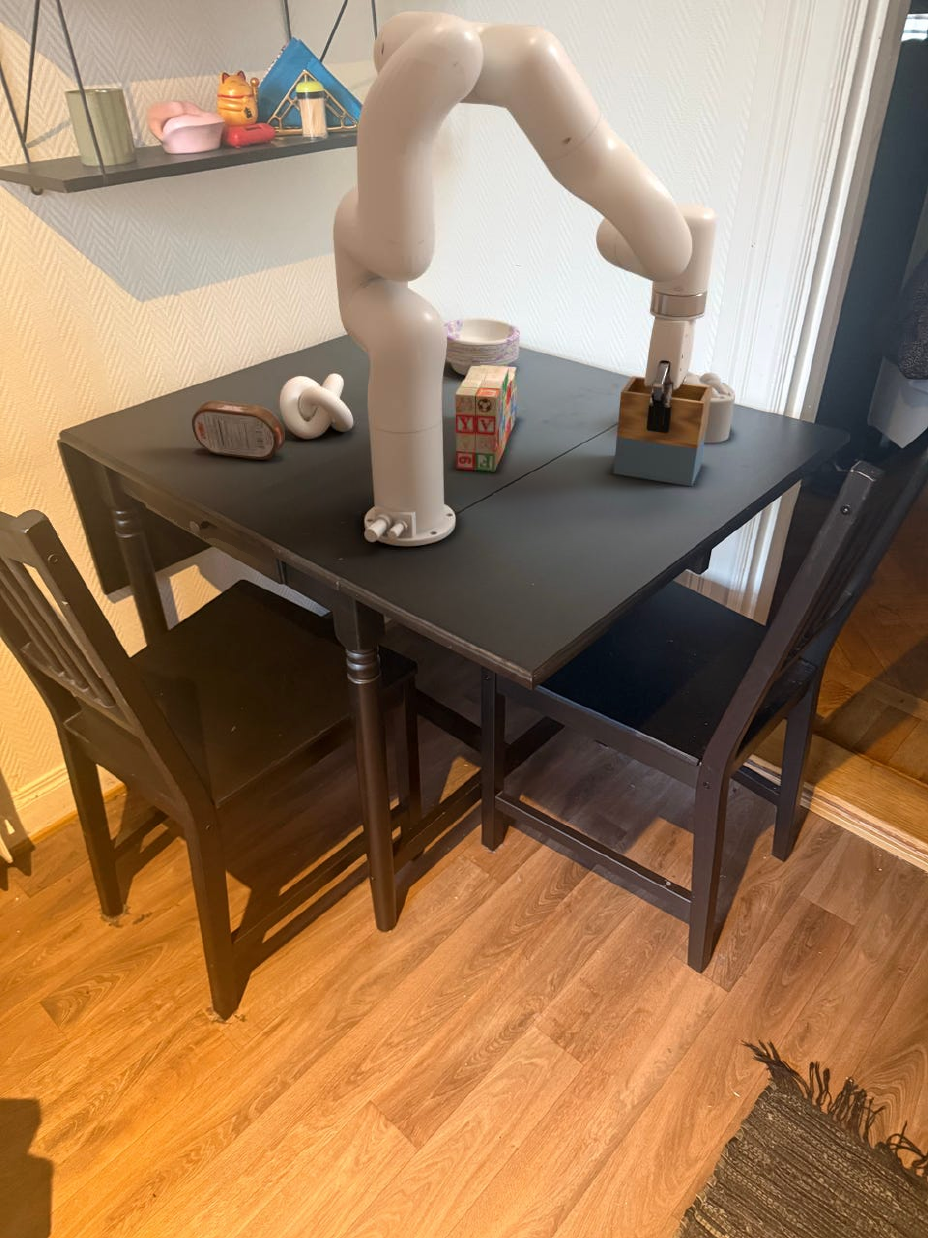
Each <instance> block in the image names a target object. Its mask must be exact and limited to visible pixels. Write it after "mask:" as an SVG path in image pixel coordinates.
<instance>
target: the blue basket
mask: <svg viewBox="0 0 928 1238" xmlns="http://www.w3.org/2000/svg"><path fill="white" fill-rule="evenodd" d="M705 434H706V432H705ZM705 434H704V436H703V438H702V440H701V442H700V444H699V446H698V448H697V449H694V448H687V447H680V446H674V445H667V444H661V443H654V442H647V441H641V440H634V439H628V438H621V437H617V436H616V439H615V440H616V442H615V450H614V451H615V452H614V462H613V471H612V472H613V474H614V475H620V476H626V477H632V478H639V479H643V480H651V481H656V482H663V483H668V484H669V483H670V484H675V485H682V486H687V487H693V484H694V482H695V480H696V478H697V476H698V474H699V472H700V470H701V466H702V461H703V460H702V459H703V452H704V447H705V443H704V441H705Z"/></svg>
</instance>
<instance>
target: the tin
mask: <svg viewBox="0 0 928 1238" xmlns="http://www.w3.org/2000/svg"><path fill="white" fill-rule="evenodd" d="M191 429H192V432H193V435H194V437H195V440H196V441H197V442H198V443H199V444H200V445H201V447H203V448H204V450H207V451H208V452H210V453H212V454H215V455H220V456H226V457H227V456H228V457H234V458H235V457H236V458H243V459H250V460H251V459H252V460H257V461H258V460H259V461H261V460H267V459H270V458H272V457H273V456H274V455H275V454H276V453H277V452H279V451H280V450H281V449H282V447H283V445H284V443H285V440H286V434H285V430H284V429H285V428H284V426H283V424H282V422H281V421H280V419H279V418H278V417H277V415H276V414H275V413H273V412H272V411H271V410H270V409H268V408H266V407H263V406H260V405H253V404H252V405H251V404H244V403H237V402H236V403H234V402H227V401H221V400H209V401H207V402H204V403H203V404H202V405H201V406H200V407H199V408H198V410H196V412H195V413H194V414H193V416H192V418H191Z"/></svg>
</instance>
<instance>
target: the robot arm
mask: <svg viewBox="0 0 928 1238" xmlns="http://www.w3.org/2000/svg"><path fill="white" fill-rule="evenodd" d="M373 62H374V67H375V70H376V73H377V76H376V77H375V78H374V81H373V82H372V84H371V86H370V88H369V89H368V92H367V94H366V96H365V98H364V101H363V104H362V106H361V109H360V113H359V118H358V124H357V133H356V164H357V165H356V167H357V168H356V171H357V173H356V176H357V185H355V186H353V187H352V188H350V189H349V190H348V191H347V192H346V193H345V195H344V196H343V197H342V198H341V199H340V202H339V203H338V206H337V208H336V211H335V215H334V220H333V227H332V239H333V252H334V266H335V277H336V289H337V300H338V309H339V315H340V321H341V323H342V326H343V328H344V331H345V333H346V334H347V335H348V336H349V338H350V339H351V340H352V341H353V342H354V344H355V345H357V346H358V347H359V348H360V349H361V350H362V351H363V352H364V353H366V355H367V356H368V358H369V364H370V365H369V366H370V367H369V368H370V370H369V378H368V385H367V416H368V417H367V418H368V428H369V441H370V454H371V455H370V457H371V472H372V487H373V488H372V489H373V503H374V506H373V507H372V508H370V509H369V510H368V511H367V513H366V514H365V515H364V529H365V531H364V532H363V534H364V538H365V539H366V540H367V541H368V542H370V543H375V542H376V541H378V542H380V543H383V544H386V545H390V546H396V547H418V546H426V545H429V544H430V545H431V544H433V543H436V542H439V541H441V540H443V539H445V538H447V537H448V536H449V535H451V533H452V532H453V531H454V530H455V527H456V514H455V512H454V510H453V509H452V508H451V507H450V506H449V505H447V504H445V488H444V487H445V484H444V481H445V479H444V438H443V437H444V435H443V434H444V433H443V427H444V426H443V378H444V369H445V363H446V360H445V357H446V349H447V336H446V330H445V326H444V325H445V324H444V321H443V318H442V316H441V315H440V313H439V311H438V310H437V309H436V307H434V305H433V304H432V303H431V302H430V301H428V300H427V299H426V298H425V297H423V296H422V295H420V294H419V293H417V292H415V291H414V290H412V289H411V288H409V283H408V282H412V281H415V280H417V279H418V278H420V277H422V276H423V275H424V274H425V273H426V271H427V270H428V269H429V267H430V266H431V264H432V261H433V259H434V255H435V247H436V227H435V226H436V225H435V195H434V193H435V192H434V158H435V146H436V141H437V139H438V138H437V137H438V135H439V131H440V129H441V128H442V125H443V123H444V121H445V120H446V118H447V116H448V115H449V114H450V113H451V111H452V110H453V109H454V108H455V107H456V106H457V105H459V104H469V105H485V106H486V105H487V106H493V107H498V108H503V109H506V110H507V111H508V113H509V114H510V115H511V116H512V118H513V120H514V121H515V123H516V124H517V125H518V127H519V128H520V130H521V131H522V133H523V134H524V135H525V137H526V138H527V140H528V142H529V143H530V145H531V146H532V147H533V149H534V150H535V152H536V153H537V155H538V157H539V158H540V159H541V161H542V162H543V164H544V165H545V167H546V169H547V171H548V172H549V173H550V175H551V176H552V177H553V178H554V180H556V181H557V183H558V184H560V185H561V186H562V187H563V188H564V189H565V190H567V191H568V192H569V193H570V194H571V195H573V196H575V197H576V198H578V199H579V200H580V201H582V202H584V203H585V204H587V205H588V206H590V207H591V208H593V209H594V210H595V211H597V212H598V213H599V214H600V215H602V216H603V219H602V220H601V222H600V224H599V225H598V228H597V230H596V233H595V234H596V235H595V243H596V248H597V251H598V253H599V254H600V255H601V257H602V258H603V259H604V260H605V261H606V262H607V263H609V264H611V265H613V266H615V267H616V268H619V269H621V270H623V271H627V272H629V273H632V274H634V275H637V276H639V277H641V278H644V279H646V280H648V281H651V282H652V284H651V287H652V288H651V295H650V306H649V314H650V315H651V316H652V317H654V319H653V324H652V328H651V329H652V330H651V335H650V340H649V347H648V353H647V354H648V355H647V361H646V368H645V375H644V378H645V381H644V384H645V386H646V387H649V386H652V384H653V383H654V385H653V389H652V394H651V398H650V403H649V408H648V418H647V430H648V431H653V432H660V433H668V431H669V427H670V418H671V410H672V406H670V402H671V398H672V393H673V390H676V389H677V388H679V386H680V385H681V383H684V381H685V377H686V374H687V372H688V371H689V369H690V366H691V361H692V354H693V349H694V340H695V334H696V333H695V332H696V323H697V320H698V319H701V318H703V317H704V316H705V312H706V304H707V296H708V289H709V284H710V283H709V282H710V275H711V269H712V261H713V260H712V259H713V252H714V245H715V237H716V230H717V222H718V221H717V220H718V218H717V214H716V211H714V209H712V208H711V207H709V206H707V205H703V204H697V203H679V204H677V203H676V201H675V200H674V198H673V197H672V195H671V194H670V192H669V191H668V189H667V188H666V187H665V185H664V184H663V183H662V181H661V180H660V179H659V177H657V175H656V174H654V172H653V171H652V170H651V169H650V168H649V167H648V166H647V164H645V163H644V162H643V161H642V160H641V159H640V158H639V156H638V155H637V154H636V153H635V152H634V151H633V150H632V148H631V147H630V146H628V144H627V143H626V142H624V140H623V139H622V138H621V137H620V136H619V135H618V134H617V133H616V132H615V131H614V129H613V128H612V126H611V124H610V123H609V122H608V120H607V118H606V117H605V115H604V114H603V112H602V110H601V108H600V107H599V105H598V103H597V102H596V100H595V98H594V96H593V95H592V93H591V92H590V90H589V87H587V85H586V83H585V82H584V80H583V78H582V76H581V74H580V73H579V71H578V70H577V68H576V66H575V65H574V63H573V60H571V58H570V56H569V54H568V53H567V51H566V50H565V48H564V46H563V45H562V44H561V42H560V41H559V39H558V38H557V37H556V36H555V35H554V34H553V32H551V31H549V30H548V29H545V28H543V27H541V26H537V25H532V24H516V23H498V22H483V21H474V20H473V21H472V20H466V19H465V18H462V17H460V16H458V15H456V14H452V13H449V12H440V11H404V12H400V13H399V12H398V13H397V14H395V15H393V16H391V17H389V19H388V20H387V21H385V22H384V23H383V25H382V26H381V27H380V29H379V30H378V32H377V34H376V37H375V41H374V46H373ZM665 382H666V383H671V385H668V384H665ZM663 391H668V393H667V397H666V394H665V393H664V392H663Z"/></svg>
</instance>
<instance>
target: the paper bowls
mask: <svg viewBox="0 0 928 1238" xmlns="http://www.w3.org/2000/svg"><path fill="white" fill-rule="evenodd" d="M444 326H445V330H446V336H447V349H446V357H445V362H448V363H450V365H451V367H452V369H453V371H455V372H456V373H457V374H459V375H462V376H464V377H466V376H467V374H468V371H469V369H470V367H471V366H480V367H481V365H487V366H507V367H509V366H508V365H509V364H511V363H512V362H515V361H516V360H517V359H518V357H519V353H520V342H521V341H520V339H521V338H520V337H521V332H520V330H519V328H518V327H517V326H516V325H514V324H512V323H510V322H508V321H505V320H499V319H494V318H484V317H482V318H481V317H471V318H470V317H469V318H462V319H457V320H452V321H450V322H449V321H448V322H447V323H445V324H444Z"/></svg>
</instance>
